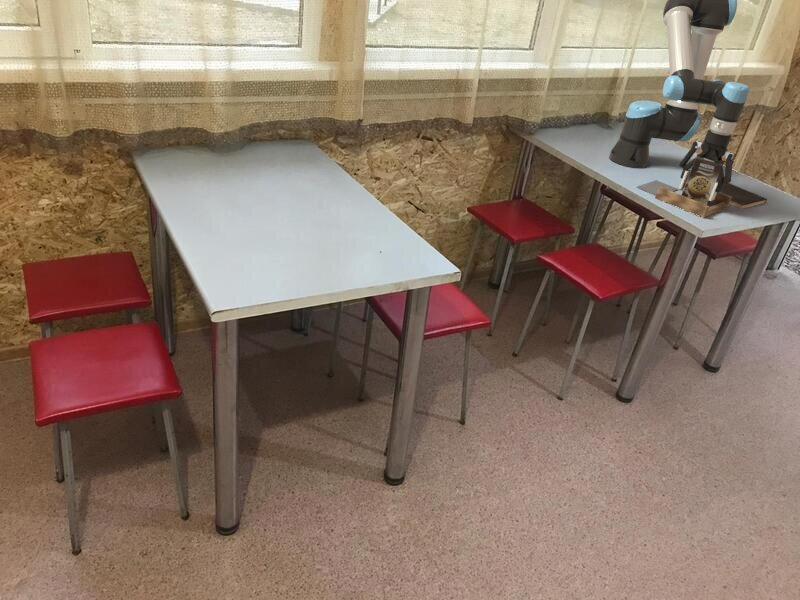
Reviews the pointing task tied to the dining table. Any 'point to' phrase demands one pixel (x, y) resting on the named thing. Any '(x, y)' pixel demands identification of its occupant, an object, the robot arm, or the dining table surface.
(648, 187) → the mat
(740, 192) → the hardcover book
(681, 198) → the shelf lane
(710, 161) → the coffee box
